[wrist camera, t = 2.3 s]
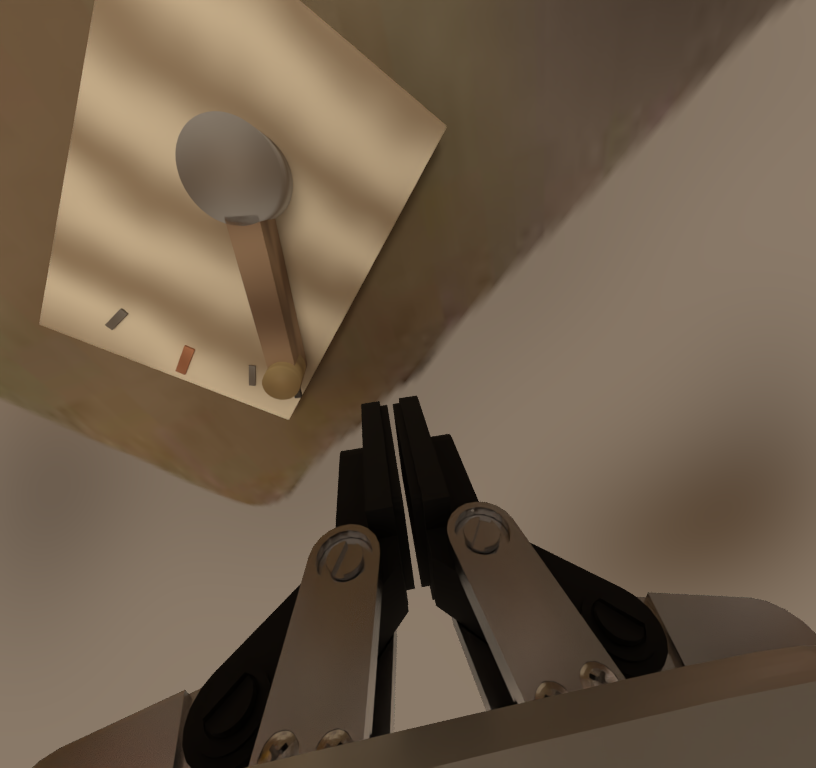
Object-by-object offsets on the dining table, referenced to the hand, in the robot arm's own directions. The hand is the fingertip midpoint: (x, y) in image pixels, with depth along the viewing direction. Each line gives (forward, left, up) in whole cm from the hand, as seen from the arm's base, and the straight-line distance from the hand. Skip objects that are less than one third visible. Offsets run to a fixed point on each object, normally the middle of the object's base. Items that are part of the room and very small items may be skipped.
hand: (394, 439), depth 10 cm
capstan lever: (+2, -7, -17) cm, 19 cm away
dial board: (+1, -10, -21) cm, 23 cm away
